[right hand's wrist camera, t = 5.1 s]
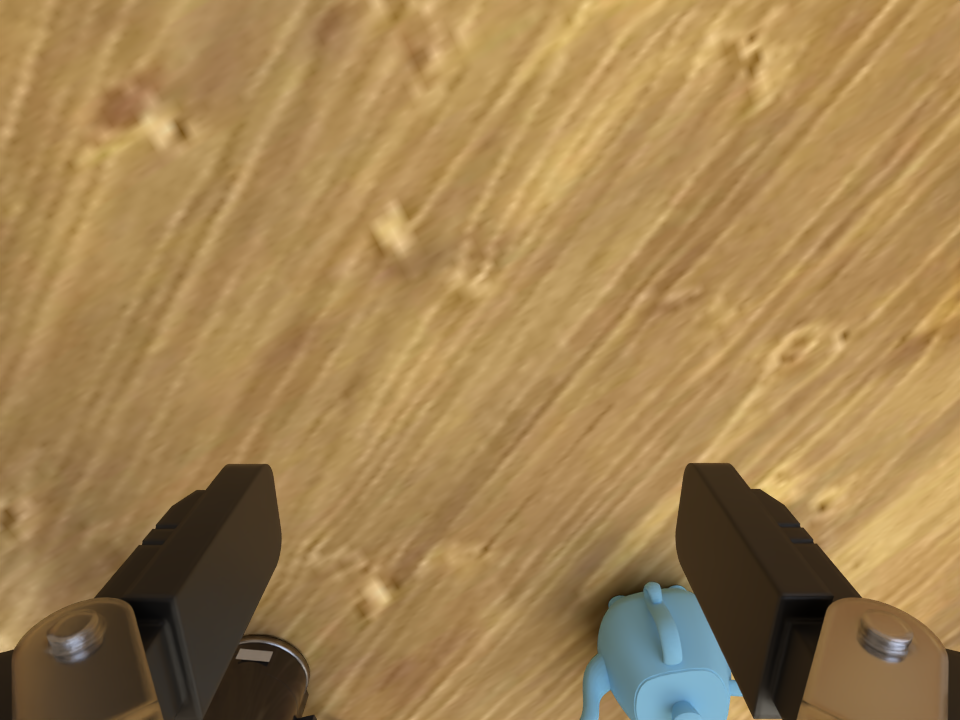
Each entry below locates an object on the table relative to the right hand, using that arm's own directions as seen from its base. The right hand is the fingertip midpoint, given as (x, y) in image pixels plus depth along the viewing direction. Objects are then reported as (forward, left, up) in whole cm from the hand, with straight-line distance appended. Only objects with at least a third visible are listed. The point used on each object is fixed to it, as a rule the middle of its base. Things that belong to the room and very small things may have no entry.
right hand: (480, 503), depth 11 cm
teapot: (+36, -19, -35) cm, 54 cm away
